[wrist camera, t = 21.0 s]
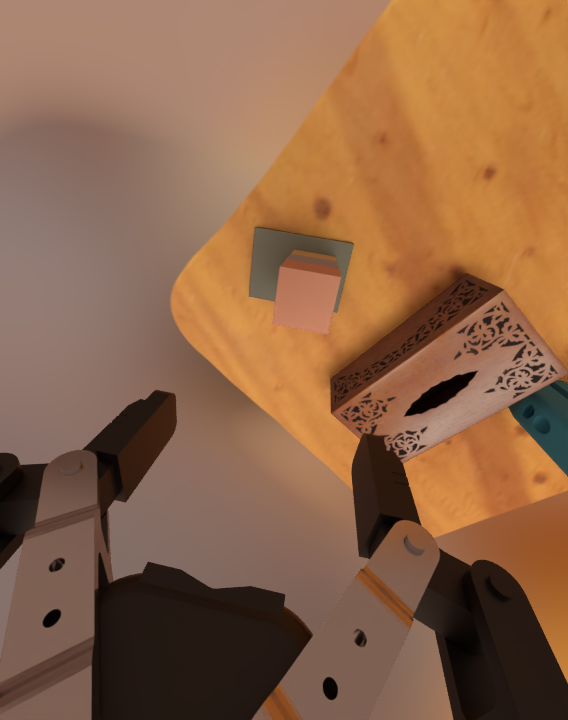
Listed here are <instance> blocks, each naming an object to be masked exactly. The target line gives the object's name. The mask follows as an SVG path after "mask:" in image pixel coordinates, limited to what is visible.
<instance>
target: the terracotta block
mask: <svg viewBox="0 0 568 720" xmlns="http://www.w3.org/2000/svg"><path fill="white" fill-rule="evenodd" d="M340 280H341V274H340V269H339V268H334V267H328V266H323V265H317V264H311V263H306V262H300V261H294V260H288V259H286V260H285V261H284V262H283V264H282V265H281V266H280V269H279V277H278V284H277V292H276V299H275V307H274V314H273V321H272V324H275V325H280V326H286V327H291V328H296V329H302V330H307V331H312V332H318V333H323V334H328V331H329V327H330V323H331V318H332V314H333V310H334V306H335V301H336V297H337V293H338V289H339V284H340Z"/></svg>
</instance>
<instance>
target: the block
mask: <svg viewBox="0 0 568 720" xmlns="http://www.w3.org/2000/svg"><path fill="white" fill-rule="evenodd" d="M508 407H509V409H510V411H511V413H512V414H513V416H514V418H515V419H516V420H517V421H518V422H519V423H520V425H521V426H522V427H523V428H524V429H525V430H526V431H527V432H528V433H529V434H530V436H531V437H532V438H533V439H534V440H535V441H536V442H537V443H538V444H539V445H540V446H541V448H542V449H543V450H544V451H545V452H546V453H547V454H548V455H549V456H550V457H551V459H552V460H553V461H554V462H555V463H556V464H557V465H558V466H559V467H560V468H561V470H562V471H563V472H564V473H565V474H566V475H567V476H568V384H567V383H565V382H562V381H558V380H556V381H555V382H553V383H551V384H549V385H547V386H545V387H543V388H542V389H540V390H538V391H536V392H534V393H532V394H530V395H529V396H527V397H525V398H523V399H521V400H519V401H517V402H516V403H514V404H512V405H510V406H508Z"/></svg>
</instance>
